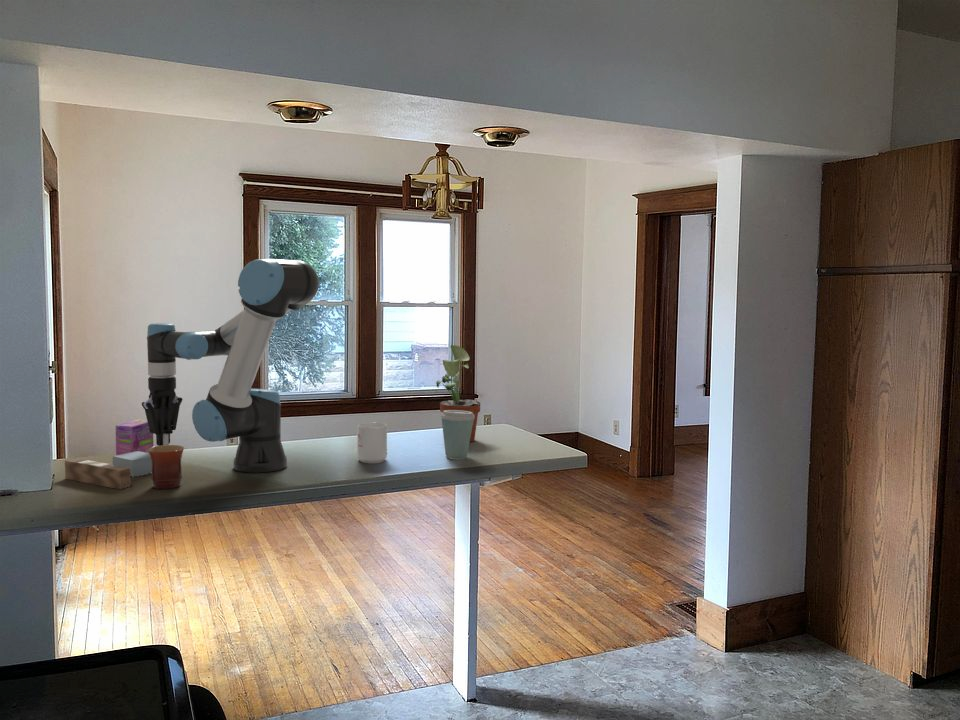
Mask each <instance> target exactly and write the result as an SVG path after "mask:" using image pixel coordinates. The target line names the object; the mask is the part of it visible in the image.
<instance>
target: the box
mask: <svg viewBox="0 0 960 720" xmlns="http://www.w3.org/2000/svg"><path fill="white" fill-rule="evenodd" d="M152 447H155V446H154V433H150V430H149V426H148V421H147V419H134V420H131V421H128V422H127V421H126V422H123V423H120V424H117V425H115V456H116V455H121V454H126V453H131V452H136V451H140V452H145V453H149V452H148V449H150V448H152Z"/></svg>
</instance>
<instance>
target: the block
mask: <svg viewBox="0 0 960 720" xmlns="http://www.w3.org/2000/svg"><path fill="white" fill-rule="evenodd" d="M112 465H115V466H121V467H126V468H130V476H132V477H131V478H135V477H134V476H137V477H140V476H139V475H141V476H143V475H142V474H145V475H147V474H146V473H150V474H152V473H151V472H152V462H151V457H150V454H149V453H145V452H140V451H136V452H131V453H126V454H121V455H116V454H115V455H112Z"/></svg>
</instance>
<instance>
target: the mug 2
mask: <svg viewBox="0 0 960 720" xmlns="http://www.w3.org/2000/svg"><path fill="white" fill-rule="evenodd" d="M387 432H388V425H387V423H385V422H384V423H383V422H375V421H374V422H373V421H372V422H371V421H370V422H369V421H368V422H363V423H359V424H357V459H358V460H359V461H360V462H361V463H364V464H380V463H383V462H385V460H386V459H387V457H388V455H387V454H388V452H387V451H388V449H387V448H388V433H387Z"/></svg>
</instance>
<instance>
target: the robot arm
mask: <svg viewBox="0 0 960 720" xmlns="http://www.w3.org/2000/svg"><path fill="white" fill-rule="evenodd" d="M237 279H238V281H237V286H238V287H239V289H238V294H239V296H240V297H241V301H240V303H241V305H242V306H243V308H244V309H243V310H242V311H240V312H239V313H238V314H236V315H235V316H234V317H232V318H231V319H229V320H228V321H226V322H225V323H223V324H222V325H221V326H219V327H217V328H216V329H213V330H203V331H202V330H201V331H200V330H199V331H177V330H176V326H175V324H174V323H171V322H170V323H169V322H154V323H149V325H148V326H147V332H146V333H147V335H146V340H147V341H146V342H147V343H146V345H147V375H148V376H149V377H148V378H147V379H148V380H147V383H148V386H147V387H148V390H149V395H148V399H147V400H146V401H143V402H141V406H142V408H143V409H144V412H145V416H146V420H147V421H148V426H149V430H150V433H153V435H155V437H156V438H155V439H156V440H155V441H156V443H155V444H156V446H163V445H171V444H170V443H171V435H172V434H173V433H174V431H175V430H176V429H177V426H178V425H177V423H178V419H179V413H180V406H181V404H182V403H183V398H182V397H179V396H177V393H176V391H175V390H176V389H177V377H176V376H175V375H176V374H177V365H176V361H177V360H176V358H177V359H183V360H184V359H185V360H187V361H191V360H200V359H202V358H206V357H217V356H226V357H227V358H226V360H225V362H224V364H223V365H224V366H223V368H222V371H221V374H220V377H219V380H218V383H217V384H216V383H215V384H213V385H212V386H211V387H210V388H209V390H208V394H207V397H206V398H205V399H201V400H199V401H197V402H196V403H195V404H194V406H193V408H192V414H191V417H192V418H191V419H192V424H193V426H194V429H195V431H196V432H197V434H198V435H199V436H200V438H202V439H203V440H205V441H207V442H209V443H214V442H222V441H223V442H224V441H225V440H231V439H234V438H238V437H239V442H238V446H237V449H236V453H235V457H234V459H233V469H234V470H235V471H237V472H241V473H242V472H243V473H251V474H252V473H259V474H260V473H269V472H276V471H280V470H283V469H285V468H287V466H288V458H287V455H286V454H285V450H284V446H283V444H282V437H281V435H282V434H281V432H282V431H281V430H282V428H281V422H282V421H281V417H282V416H281V413H282V410H281V408H282V407H281V406H282V403H281V395H280V393H279V392H278V391H276V390H273V389H265V388H252V386H253V384H254V382H255V379H256V377H257V374H258V370H259V368H260V365H261V362H262V359H263V358H264V355H265V352H266V349H267V347H268V344H269V341H270V339H271V336H272V333H273V331H274V328H275V325H276V322H277V320H279V319H283V318H284V317H285V315H286V314H288V313H289V312H290V311H298V310H300V309H301V308H303V307H305V306H306V305H307V304H309V303H311V301H312V300H314V299H315V297H316V296H317V294H318V291H319V285H320V280H319V276H318V273H317V272H316V270H315V268H313V266H311V265H310V264H309V263H307V262H305V261H303V260H300V259H278V258H277V259H275V258H270V257H268V258H267V257H265V258H261V259H259V258H258V259H254V260H252V261H249V262H248V263H246V265H245V266H244V267H243V268H242V269H241V272H240V273H239V276H238V278H237Z"/></svg>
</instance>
